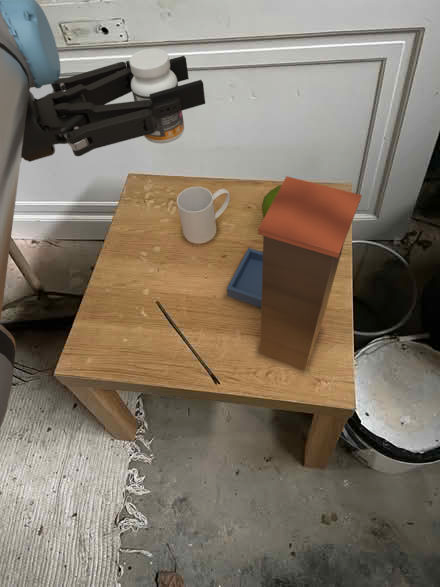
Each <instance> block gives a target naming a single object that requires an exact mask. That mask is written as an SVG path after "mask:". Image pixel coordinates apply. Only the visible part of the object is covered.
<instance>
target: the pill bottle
mask: <svg viewBox="0 0 440 587" xmlns="http://www.w3.org/2000/svg"><path fill="white" fill-rule="evenodd" d="M128 61H129V63H130V68H131V72H132V74H133V75H134V77H133V78H132V81H131V89H132V92H131V93H132V97H133V101H141V100H151V99H150V95H149V94H152V93H156V92H159V91H163V90H166V89H170V88H173V87H177V86H179V82H177V78H176V76H175V74H174V73H173V72H172V71H171V70H170V56H169V54H168V53H167V51H165V50H164V49H161V48H145V49H141V50H139V51H136V52H134V53H133V54H132V55H131V56H130V58H129V60H128ZM156 121H157V128H156V129H155V132H154V133H152V134H148V135H145V136H143V137H144V139H146V140H147V141H148V142H150V143H153V144H161V145H162V144H168V143H171V142H174V141H176V140H178V139H179V138H180V137H181V136H182V135H183V133H184V130H185V122H184V116H183V110H182V111H180V112H178V113H173V114H170V115H167V116H164V117H161V118H158V119H157V120H156ZM143 126H144V125H143Z"/></svg>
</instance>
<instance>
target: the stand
mask: <svg viewBox="0 0 440 587" xmlns="http://www.w3.org/2000/svg"><path fill="white" fill-rule="evenodd" d="M280 185H281V187H280V189H279V191H278V193H277V195H276V197H275V199H274V200H273V202H272V204H271V206H270V208H269V210H268V212H267V213H266V215H265V217H263V219H262V221H261V222H260V224H259V227H258V229H257V235H259V236H262V238H263V241H262V252H263V270H262V306H261V309H260V310H261V312H260V344H259V345H260V347H259V349H260V350H259V353H260V355H263V356H265V357H268V358H271V359H273V360H276V361H278V362H281V363H283V364H285V365H289V366H292V367H294V368H297V369H300V370H302V371H306V369H307V366H308V364H309V360H310V358H311V356H312V353H313V350H314V347H315V344H316V342H317V339H318V338H319V337H318V336H319V334H320V332H321V328H322V325H323V321H324V317H325V314H326V309H327V306H328V302H329V299H330V296H331V292H332V288H333V284H334V282H335V277H336V273H337V270H338V266H339V263H340V259H341V256H342V252H343V249H344V245H345V241H346V239H347V236H348V234H349V231H350V228H351V226H352V224H353V221H354V218H355V215H356V213H357V210H358V207H359V206H360V202H361V200H362V196H363V195H362V194H359V193H355V192H351V191H347V190H343V189H339V188H335V187H331V186H328V185H323V184H319V183H315V182H312V181H308V180H303V179H299V178H295V177H291V176H285V178H284V180H283V182H282V184H280Z"/></svg>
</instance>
